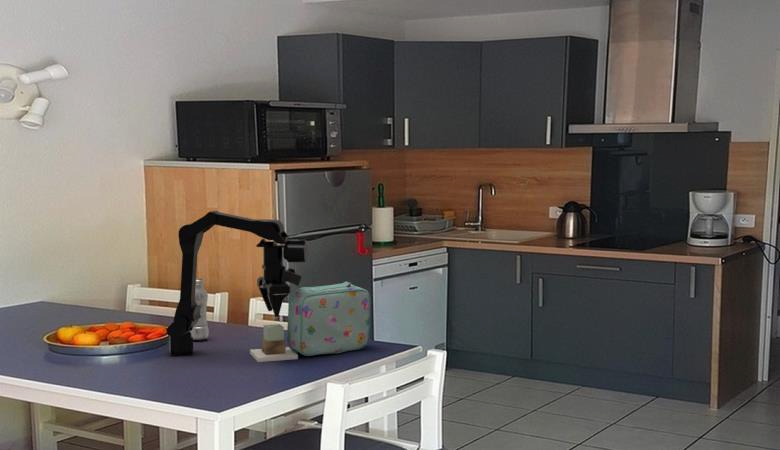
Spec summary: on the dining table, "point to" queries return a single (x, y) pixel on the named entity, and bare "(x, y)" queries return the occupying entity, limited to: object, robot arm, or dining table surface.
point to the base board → (262, 357)
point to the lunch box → (328, 319)
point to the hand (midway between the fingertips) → (273, 313)
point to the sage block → (273, 332)
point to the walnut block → (273, 347)
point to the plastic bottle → (201, 327)
